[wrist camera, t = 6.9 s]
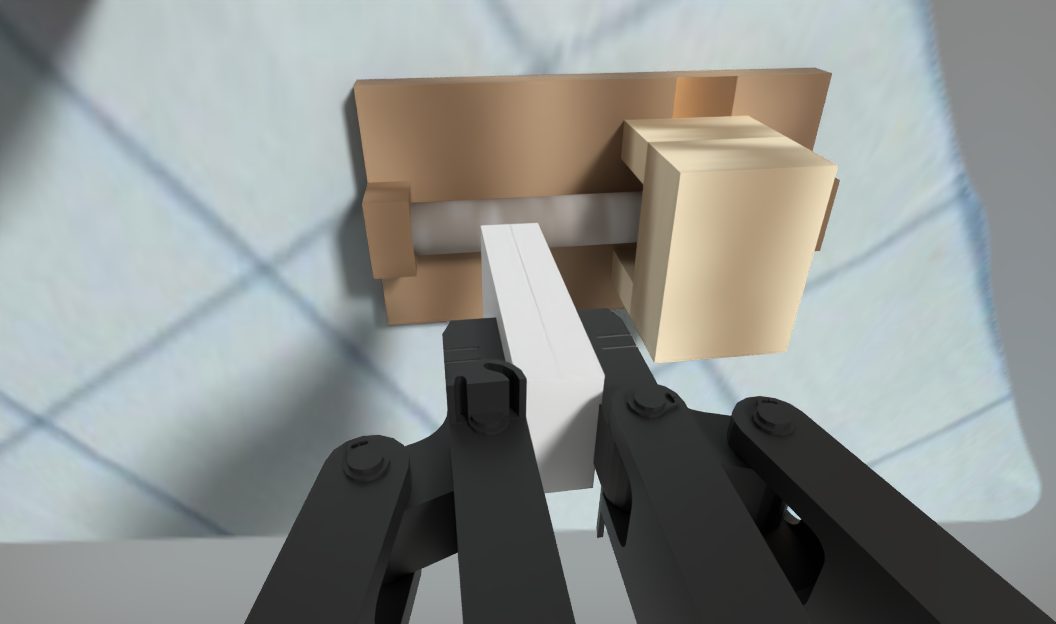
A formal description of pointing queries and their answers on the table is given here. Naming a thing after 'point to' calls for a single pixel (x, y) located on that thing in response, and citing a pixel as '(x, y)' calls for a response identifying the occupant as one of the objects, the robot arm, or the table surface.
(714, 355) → the collar
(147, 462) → the table surface
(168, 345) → the table surface
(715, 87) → the rail
